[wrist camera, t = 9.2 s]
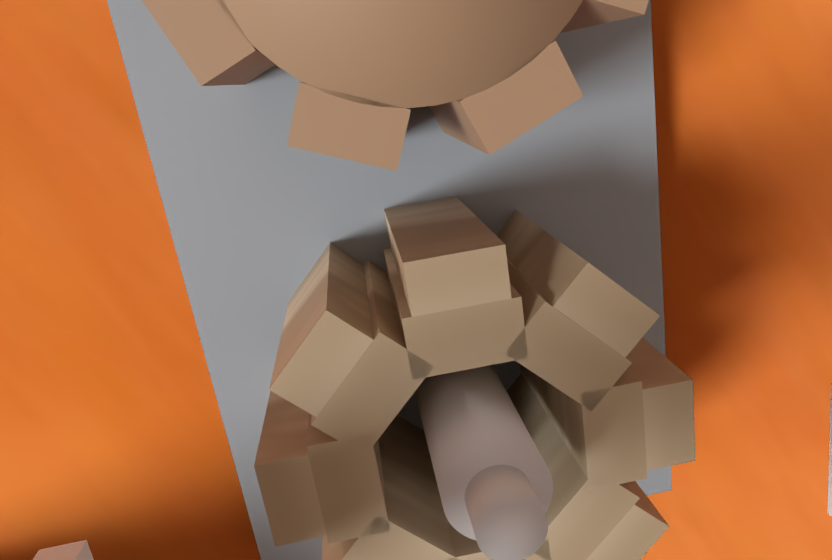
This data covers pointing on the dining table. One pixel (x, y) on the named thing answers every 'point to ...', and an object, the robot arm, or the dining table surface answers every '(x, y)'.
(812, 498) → the dining table surface
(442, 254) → the maple gear
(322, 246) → the gear board
